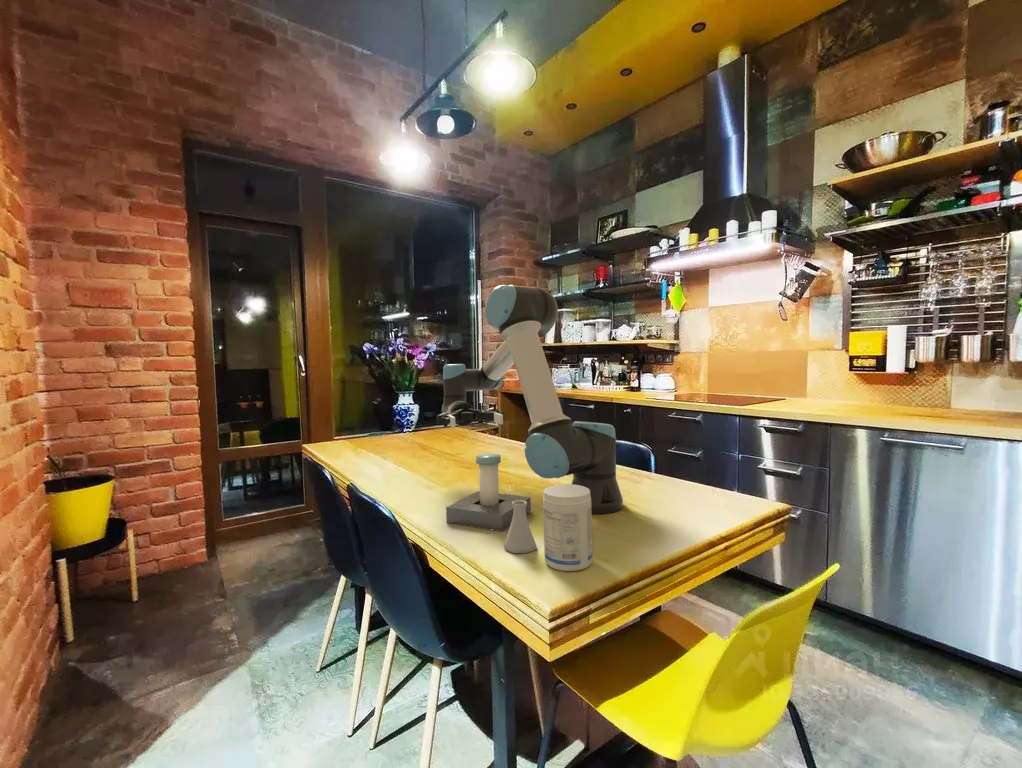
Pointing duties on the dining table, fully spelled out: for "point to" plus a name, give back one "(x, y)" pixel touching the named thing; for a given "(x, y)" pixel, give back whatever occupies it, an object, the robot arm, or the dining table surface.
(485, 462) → the teal-capped white peg
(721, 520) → the dining table surface
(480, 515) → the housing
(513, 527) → the flask
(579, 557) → the supplement tub
